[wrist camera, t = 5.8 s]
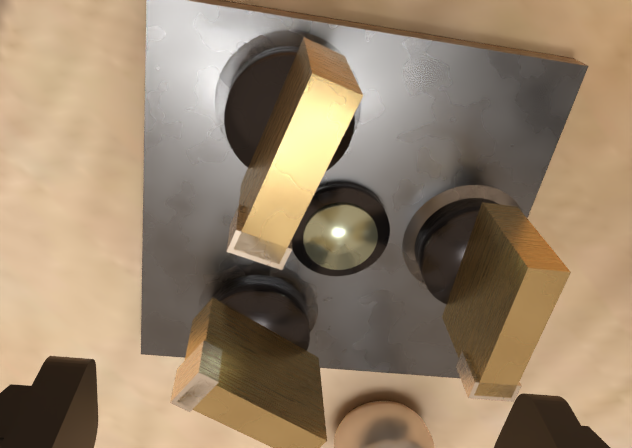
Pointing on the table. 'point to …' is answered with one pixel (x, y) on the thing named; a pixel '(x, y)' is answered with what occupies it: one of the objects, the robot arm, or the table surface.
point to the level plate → (337, 173)
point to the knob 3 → (490, 289)
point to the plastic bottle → (382, 427)
